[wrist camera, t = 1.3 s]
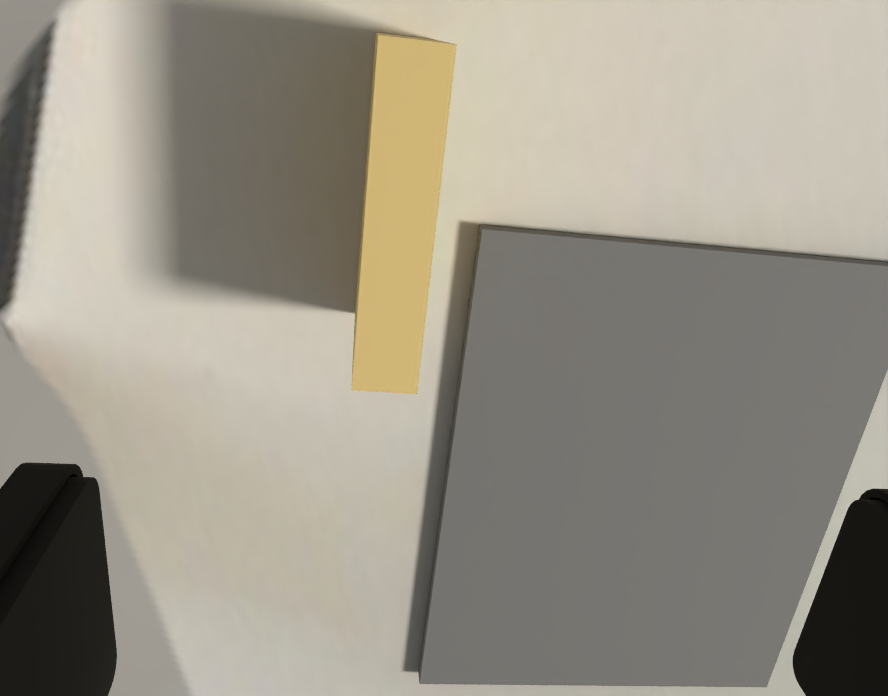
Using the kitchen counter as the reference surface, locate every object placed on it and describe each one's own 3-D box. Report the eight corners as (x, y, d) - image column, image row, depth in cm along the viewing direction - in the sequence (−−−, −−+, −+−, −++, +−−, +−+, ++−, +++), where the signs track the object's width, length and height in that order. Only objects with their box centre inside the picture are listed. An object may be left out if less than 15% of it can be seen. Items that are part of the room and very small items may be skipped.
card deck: (376, 32, 22) (378, 34, 17) (435, 39, 23) (456, 44, 17) (355, 312, 26) (351, 390, 20) (406, 316, 26) (417, 394, 21)
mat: (479, 224, 25) (482, 229, 24) (914, 264, 27) (925, 269, 26) (418, 672, 33) (419, 683, 32) (760, 676, 35) (766, 687, 34)
